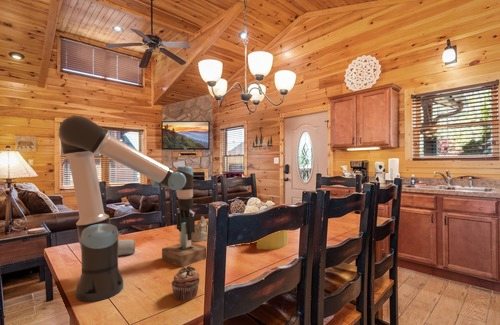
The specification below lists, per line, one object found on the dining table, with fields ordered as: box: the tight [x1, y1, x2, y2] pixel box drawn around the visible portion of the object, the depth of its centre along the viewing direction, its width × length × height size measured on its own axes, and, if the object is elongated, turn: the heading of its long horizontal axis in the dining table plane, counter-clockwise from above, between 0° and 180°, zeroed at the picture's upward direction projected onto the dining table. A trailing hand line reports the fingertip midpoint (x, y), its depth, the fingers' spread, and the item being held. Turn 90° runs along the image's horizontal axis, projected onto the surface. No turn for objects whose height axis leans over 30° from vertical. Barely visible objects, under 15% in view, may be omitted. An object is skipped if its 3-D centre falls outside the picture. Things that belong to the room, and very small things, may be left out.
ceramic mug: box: [118, 239, 136, 257], centre depth 137 cm, size 11×8×8 cm
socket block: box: [161, 241, 207, 268], centre depth 130 cm, size 16×16×5 cm
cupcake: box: [170, 264, 200, 302], centre depth 94 cm, size 10×10×10 cm
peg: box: [181, 222, 190, 251], centre depth 130 cm, size 4×4×14 cm
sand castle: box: [191, 215, 209, 243], centre depth 165 cm, size 16×16×15 cm
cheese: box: [253, 230, 289, 250], centre depth 156 cm, size 26×26×15 cm
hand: (185, 245), depth 130 cm, fingers closed on peg, 4 cm apart
